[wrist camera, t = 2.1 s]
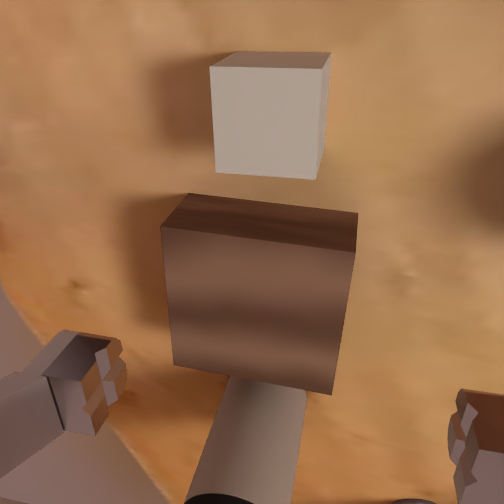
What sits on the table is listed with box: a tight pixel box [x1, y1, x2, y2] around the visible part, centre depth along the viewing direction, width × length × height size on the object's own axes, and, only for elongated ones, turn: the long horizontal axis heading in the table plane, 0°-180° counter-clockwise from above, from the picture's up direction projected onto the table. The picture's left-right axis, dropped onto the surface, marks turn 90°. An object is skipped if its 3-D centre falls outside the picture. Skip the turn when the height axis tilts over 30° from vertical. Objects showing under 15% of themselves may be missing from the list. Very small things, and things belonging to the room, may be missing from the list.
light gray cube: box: [209, 51, 331, 180], centre depth 28 cm, size 6×6×6 cm
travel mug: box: [184, 376, 307, 504], centre depth 37 cm, size 8×8×18 cm
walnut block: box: [160, 193, 358, 395], centre depth 35 cm, size 13×13×6 cm
